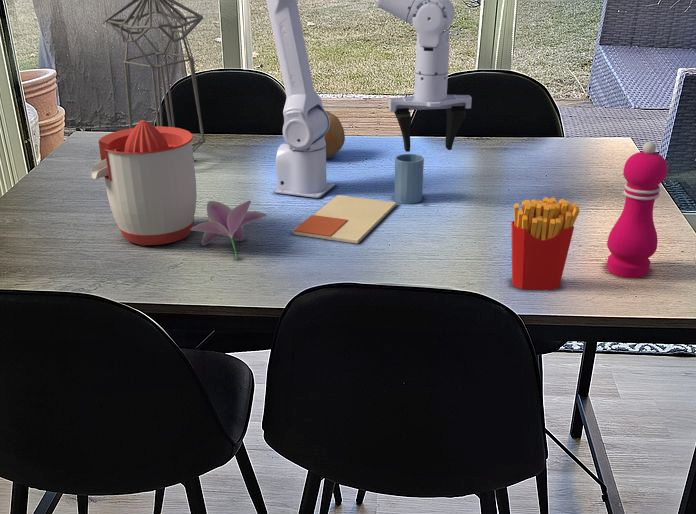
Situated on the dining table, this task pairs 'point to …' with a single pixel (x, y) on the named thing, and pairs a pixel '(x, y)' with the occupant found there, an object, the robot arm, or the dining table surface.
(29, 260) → the dining table surface
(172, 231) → the citrus juicer
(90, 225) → the dining table surface
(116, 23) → the geometric lantern
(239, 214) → the lily
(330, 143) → the onion
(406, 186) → the tumbler
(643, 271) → the pepper mill
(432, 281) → the dining table surface
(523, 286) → the french fries
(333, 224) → the cutting board
